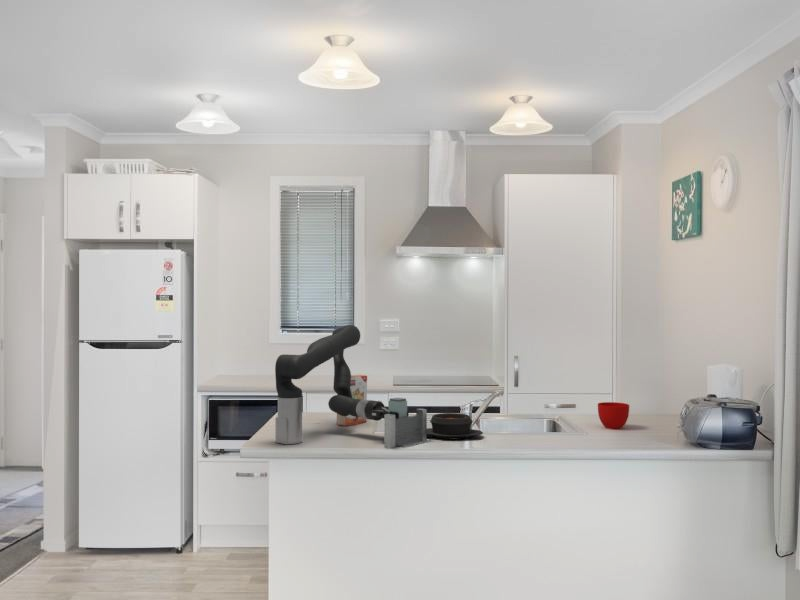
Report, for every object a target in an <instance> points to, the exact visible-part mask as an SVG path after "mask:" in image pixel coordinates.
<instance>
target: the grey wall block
mask: <svg viewBox="0 0 800 600" xmlns="http://www.w3.org/2000/svg"><path fill="white" fill-rule="evenodd" d="M427 411H428V410H427V409H425V408H416V414H413V415H409V416H407V417H401V418H396V419H395V415H393V414H386V415H384V418H383V420H384V421H383V422H384V423H383V424H384V428H383V430H384V432H383V433H384V437H383V438H384V443H383V444H384V448H387V449H394V448H398V447H401V448H408V447H413V446H417V445H420V444H425V443H426V444H427V443H428V442H429V440H428V439H427V436H428V435H427V423H428V421H427V420H428V419H427V418H428V417H427V416H428V415H427V413H428V412H427Z"/></svg>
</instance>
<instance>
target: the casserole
mask: <svg viewBox="0 0 800 600" xmlns="http://www.w3.org/2000/svg"><path fill="white" fill-rule="evenodd" d="M429 422H430V423H431V427H430V428H427V436H435V437H437V438H439V439H443V440H459V439H460V440H461V439H465V438H467V437H478V436H482V435H483V434H484V432H483V431H481V430H480V429H472V427H471V425H472V423H473V420H472V419H471V416H470V415H468V414H466V413H464V414H463V413H457V412H454V413H452V412H444V413H436V414H433V415H431V419H430V421H429Z"/></svg>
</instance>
